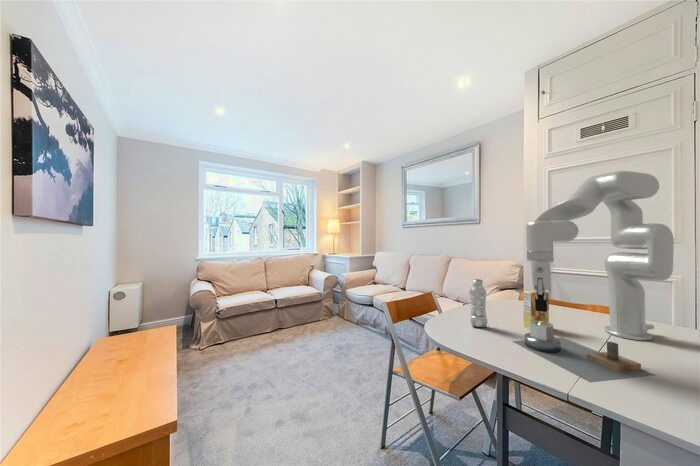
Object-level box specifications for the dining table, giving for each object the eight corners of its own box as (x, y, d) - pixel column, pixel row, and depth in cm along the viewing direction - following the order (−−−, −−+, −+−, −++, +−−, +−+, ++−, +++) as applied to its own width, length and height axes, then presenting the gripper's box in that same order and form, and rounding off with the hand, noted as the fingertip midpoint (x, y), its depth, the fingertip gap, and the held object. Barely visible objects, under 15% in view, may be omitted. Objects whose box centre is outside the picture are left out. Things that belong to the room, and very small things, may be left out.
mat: (562, 338, 98) (562, 337, 98) (656, 376, 71) (656, 374, 71) (511, 342, 95) (511, 341, 95) (589, 383, 68) (589, 382, 68)
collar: (553, 337, 90) (553, 322, 91) (553, 343, 85) (553, 328, 85) (531, 333, 94) (530, 319, 94) (530, 339, 89) (529, 324, 89)
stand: (609, 356, 82) (608, 337, 82) (641, 369, 74) (640, 347, 74) (587, 358, 81) (586, 339, 81) (617, 372, 73) (616, 350, 73)
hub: (542, 340, 96) (541, 318, 96) (568, 352, 86) (568, 327, 86) (517, 342, 94) (517, 319, 94) (541, 354, 84) (541, 329, 84)
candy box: (540, 325, 112) (539, 289, 112) (550, 329, 108) (549, 291, 108) (523, 327, 110) (522, 291, 110) (532, 331, 106) (531, 293, 106)
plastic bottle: (487, 330, 107) (486, 281, 107) (469, 327, 111) (468, 280, 111) (488, 325, 112) (487, 279, 113) (471, 323, 116) (470, 278, 116)
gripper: (554, 258, 82) (555, 318, 81) (553, 255, 94) (554, 306, 94) (525, 258, 86) (526, 314, 86) (528, 254, 99) (529, 303, 99)
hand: (541, 309), depth 90 cm, fingers closed
